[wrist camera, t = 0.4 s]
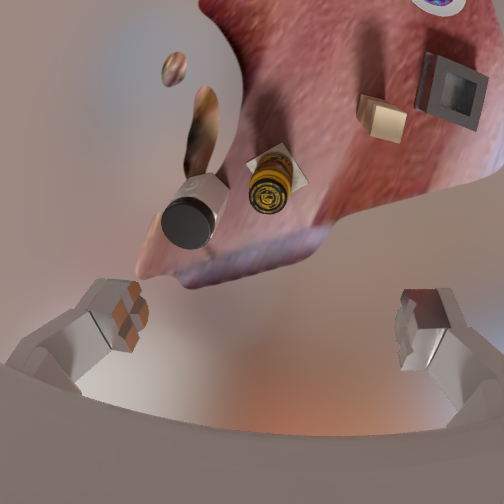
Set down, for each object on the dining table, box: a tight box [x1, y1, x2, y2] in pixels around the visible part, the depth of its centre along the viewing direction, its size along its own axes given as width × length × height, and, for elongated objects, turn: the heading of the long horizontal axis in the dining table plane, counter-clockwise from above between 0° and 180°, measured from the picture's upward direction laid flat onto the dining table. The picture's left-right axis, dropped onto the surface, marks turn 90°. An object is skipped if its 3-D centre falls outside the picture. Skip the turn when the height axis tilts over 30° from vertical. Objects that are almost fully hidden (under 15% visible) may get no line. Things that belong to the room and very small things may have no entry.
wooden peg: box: [356, 94, 407, 143], centre depth 39 cm, size 4×4×12 cm
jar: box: [161, 173, 230, 249], centre depth 52 cm, size 9×8×12 cm
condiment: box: [246, 143, 309, 214], centre depth 48 cm, size 7×8×12 cm
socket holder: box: [414, 52, 489, 132], centre depth 37 cm, size 10×10×5 cm
